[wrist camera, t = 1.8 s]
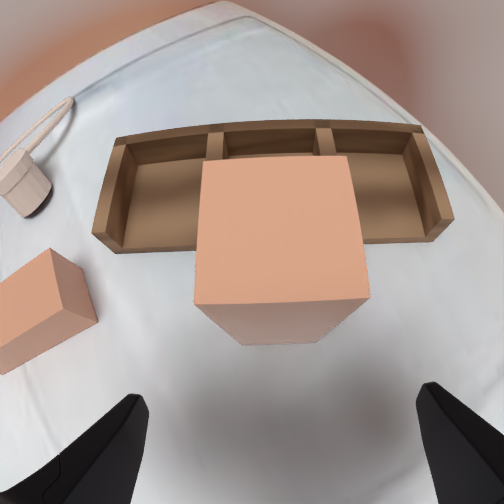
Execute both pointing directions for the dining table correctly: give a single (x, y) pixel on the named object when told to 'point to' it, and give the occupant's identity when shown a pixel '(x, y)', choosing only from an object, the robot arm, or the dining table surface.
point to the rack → (268, 145)
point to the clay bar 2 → (279, 248)
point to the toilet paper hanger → (28, 167)
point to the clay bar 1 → (42, 308)
